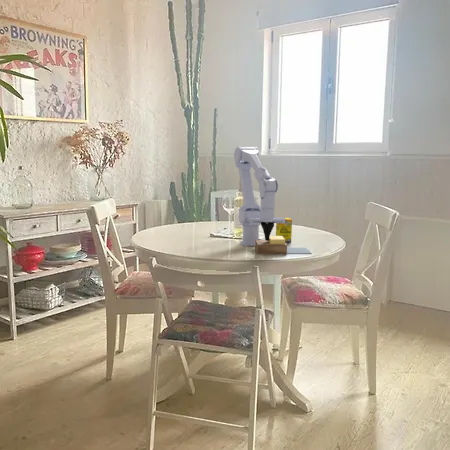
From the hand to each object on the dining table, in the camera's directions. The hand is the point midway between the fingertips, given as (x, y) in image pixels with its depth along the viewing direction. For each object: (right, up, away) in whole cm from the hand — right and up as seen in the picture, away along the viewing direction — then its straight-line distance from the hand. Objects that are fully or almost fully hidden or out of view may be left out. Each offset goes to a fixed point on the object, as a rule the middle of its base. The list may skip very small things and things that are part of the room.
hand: (266, 240), depth 204 cm
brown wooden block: (+2, -5, +1) cm, 5 cm away
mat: (+13, -5, +2) cm, 14 cm away
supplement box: (+10, -2, +22) cm, 24 cm away
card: (+4, -1, 0) cm, 4 cm away
